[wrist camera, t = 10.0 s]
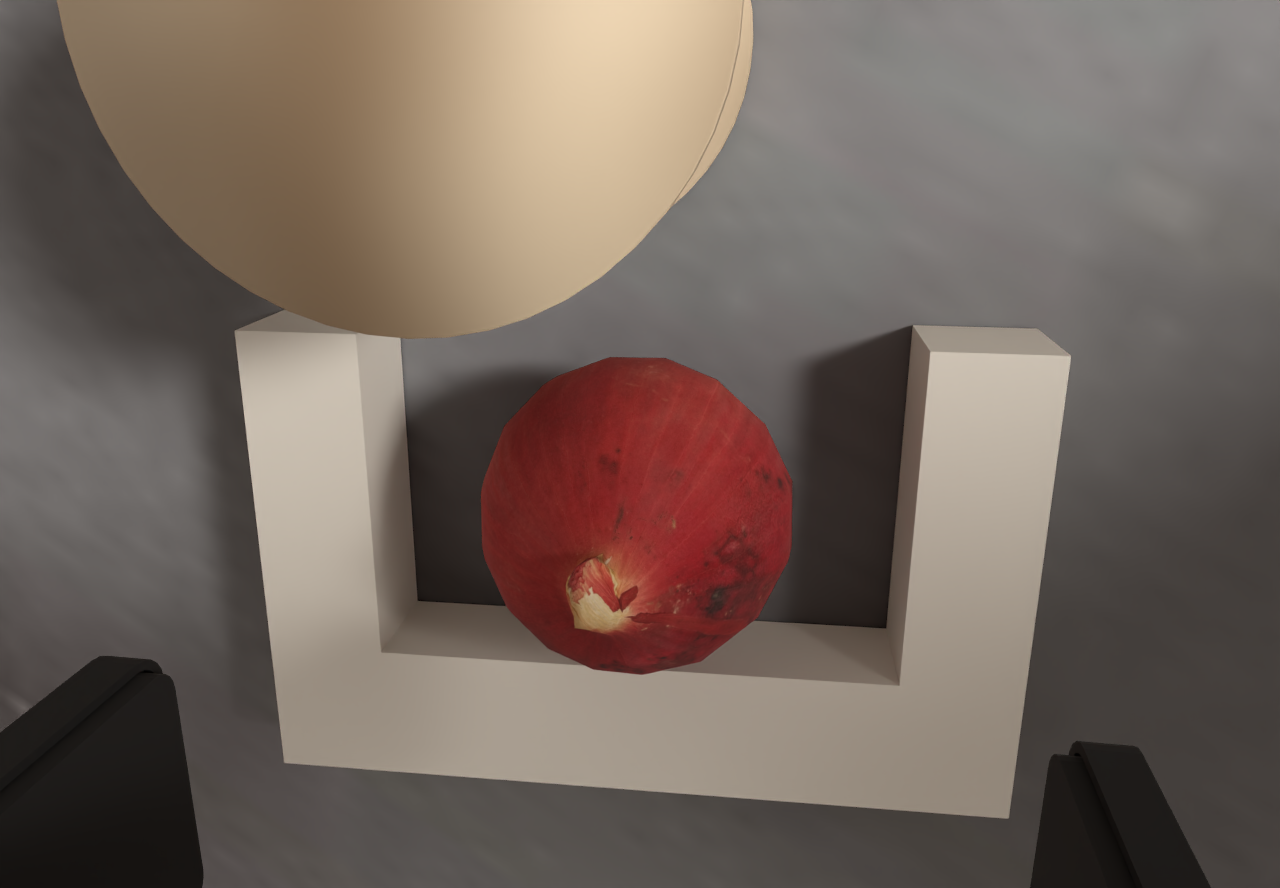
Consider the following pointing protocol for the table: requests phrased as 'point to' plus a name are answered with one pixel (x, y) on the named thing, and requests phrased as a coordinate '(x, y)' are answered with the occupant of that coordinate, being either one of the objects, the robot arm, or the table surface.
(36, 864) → the robot arm
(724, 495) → the onion
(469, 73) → the spool
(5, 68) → the table surface
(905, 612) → the notch board
